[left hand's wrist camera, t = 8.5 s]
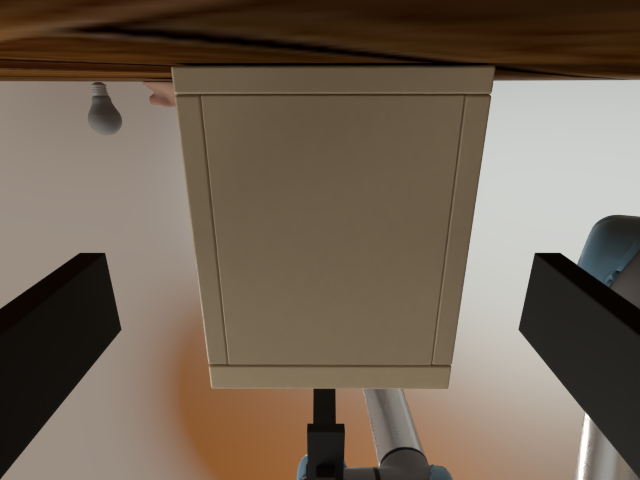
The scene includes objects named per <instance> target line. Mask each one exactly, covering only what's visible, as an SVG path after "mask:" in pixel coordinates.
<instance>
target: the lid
mask: <svg viewBox="0 0 640 480" xmlns="http://www.w3.org/2000/svg"><path fill="white" fill-rule="evenodd" d="M209 372H210V380H211V387H212V388H300V389H301V388H305V389H447V388H448V385H449V379H450V372H451V365H442V364H432V363H431V365H301V364H229V363H227V364H209Z"/></svg>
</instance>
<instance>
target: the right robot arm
mask: <svg viewBox="0 0 640 480" xmlns="http://www.w3.org/2000/svg"><path fill="white" fill-rule="evenodd" d="M363 390H364V396H365V401H366V406H367V411H368V416H369V421H370V426H371V431H372V436H373V441H374V446H375V451H376V456H377V461H378V466H379V467H352V468H347V466H346V463H345V461H344V440H345V428H344V424H336V408H335V389H314V406H313V408H314V409H313V424H308V426H307V451H308V454H307V455H306V456H304V457H303V459H302V460H301V462H300V464H299V466H298V471H297V480H453V479H452V477H451V475H450V473H449V472H448V471H447V469H446V468H444V467H443V466H435V465H431V466H429V464H428V462H427V459H426V456H425V453H424V451H423V447H422V445H421V442H420V439H419V436H418V433H417V430H416V427H415V424H414V421H413V418H412V415H411V412H410V410H409V407H408V404H407V401H406V398H405V395H404V392H403V389H363Z"/></svg>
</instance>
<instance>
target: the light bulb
mask: <svg viewBox="0 0 640 480" xmlns="http://www.w3.org/2000/svg"><path fill="white" fill-rule="evenodd" d="M91 86H92V88H93V89H92V90H93V97H92V106H91V109H90V111H89V114H88V121H89V124H90V126H91V127H92V128H93V129H94V130H95V131H96V132H97V133H99V134H102V135H112V134H115V133H117V132H118V131H119V129H120V128H121V125H122V118H121V115H120V113H119V112H118V111H117V109H116V108H115V107H114V105H113V104H112V102H111V99H110V97H109V96H108V93H107V90H106V85H105V84H103V83H102V82H95V83H93V84H92V85H91Z"/></svg>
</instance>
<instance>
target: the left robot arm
mask: <svg viewBox="0 0 640 480" xmlns="http://www.w3.org/2000/svg"><path fill="white" fill-rule="evenodd" d="M120 331H121V326H120V321H119V316H118V311H117V307H116V302H115V297H114V293H113V288H112V283H111V279H110V274H109V269H108V265H107V260H106V255H105V253H79V254H78V255H76V256H75V257H74V258H72V259H71V260H69V261H68V262H66V263H65V264H63V265H62V266H61V267H59V268H58V269H56V270H55V271H54V272H52V273H51V274H49V275H48V276H46V277H45V278H44V279H42V280H41V281H39V282H38V283H37V284H35V285H34V286H32V287H31V288H29V289H28V290H26V291H25V292H24V293H22V294H21V295H19V296H18V297H17V298H15V299H14V300H12V301H11V302H9V303H8V304H7V305H5V306H4V307H2V308H1V309H0V479H1V478H2V476H3V475H4V474H5V473H6V472H7V470H8V469H9V468H10V467H11V465H12V464H13V463H14V462H15V460H16V459H17V458H18V457H19V455H20V454H21V453H22V452H23V451H24V449H25V448H26V447H27V446H28V444H29V443H30V442H31V441H32V439H33V438H34V437H35V436H36V435H37V433H38V432H39V431H40V430H41V428H42V427H43V426H44V425H45V423H46V422H47V421H48V420H49V418H50V417H51V416H52V415H53V413H54V412H55V411H56V410H57V409H58V407H59V406H60V405H61V404H62V402H63V401H64V400H65V399H66V397H67V396H68V395H69V394H70V393H71V391H72V390H73V389H74V388H75V386H76V385H77V384H78V383H79V381H80V380H81V379H82V378H83V376H84V375H85V374H86V373H87V371H88V370H89V369H90V368H91V367H92V365H93V364H94V363H95V362H96V360H97V359H98V358H99V357H100V355H101V354H102V353H103V352H104V351H105V349H106V348H107V347H108V346H109V344H110V343H111V342H112V341H113V339H114V338H115V337H116V336H117V334H118V333H119V332H120ZM519 331H520V332H521V333H522V334H523V336H524V337H525V338H526V339H527V341H528V342H529V343H530V344H531V346H532V347H533V348H534V349H535V350H536V352H537V353H538V354H539V356H540V357H541V358H542V359H543V360H544V362H545V363H546V364H547V365H548V367H549V368H550V369H551V370H552V372H553V373H554V374H555V375H556V376H557V378H558V379H559V380H560V381H561V383H562V384H563V385H564V386H565V388H566V389H567V390H568V391H569V393H570V394H571V395H572V396H573V397H574V399H575V400H576V401H577V402H578V404H579V405H580V406H581V407H582V408H583V410H584V418H583V424H582V431H581V438H580V444H579V451H578V457H577V464H576V471H575V477H574V480H640V217H637V216H625V215H612V216H608V217H605V218H603V219H601V220H600V221H598V222H597V223H596V224H595V225H594V226H593V228H592V230H591V232H590V234H589V236H588V239H587V241H586V244H585V246H584V248H583V251H582V254H581V256H580V259H579V261H578V264H577V265H576V264H575V263H574V262H572V261H571V260H569V259H568V258H566V257H565V256H564V255H562V254H561V253H535V255H534V260H533V265H532V269H531V274H530V279H529V283H528V288H527V293H526V297H525V302H524V307H523V311H522V316H521V321H520V325H519Z"/></svg>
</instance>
